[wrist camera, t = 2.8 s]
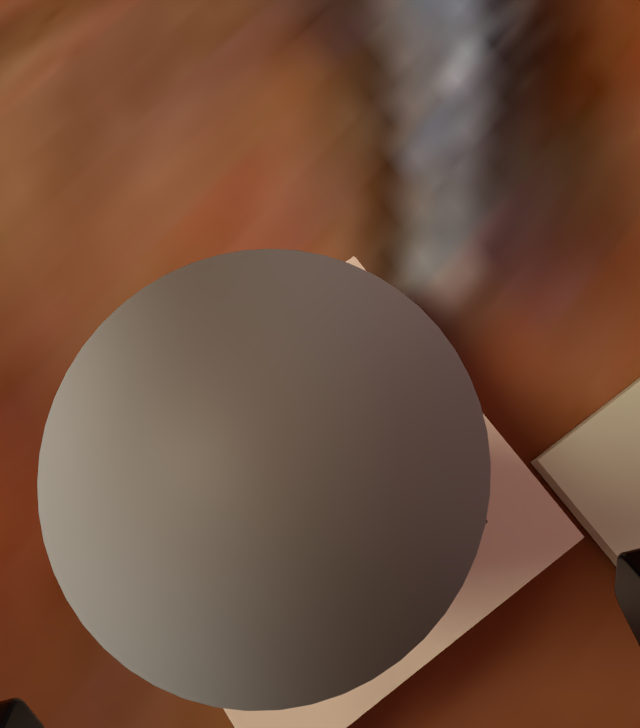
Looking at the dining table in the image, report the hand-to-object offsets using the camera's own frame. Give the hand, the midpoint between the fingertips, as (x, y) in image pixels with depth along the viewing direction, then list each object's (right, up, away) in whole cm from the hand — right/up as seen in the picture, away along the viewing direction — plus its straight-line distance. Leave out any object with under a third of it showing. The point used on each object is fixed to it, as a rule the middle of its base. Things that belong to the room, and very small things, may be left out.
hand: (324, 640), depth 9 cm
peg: (0, 0, +10) cm, 10 cm away
